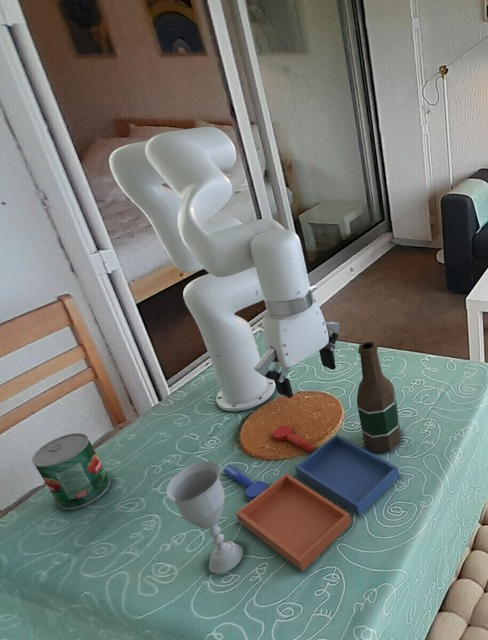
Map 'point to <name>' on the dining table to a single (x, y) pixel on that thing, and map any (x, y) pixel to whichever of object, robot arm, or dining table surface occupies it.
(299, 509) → the terracotta tray
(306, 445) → the red spoon
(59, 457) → the canned tomato
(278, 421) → the dining table surface
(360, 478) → the blue tray
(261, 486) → the blue spoon
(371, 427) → the beer bottle
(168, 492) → the chalice
